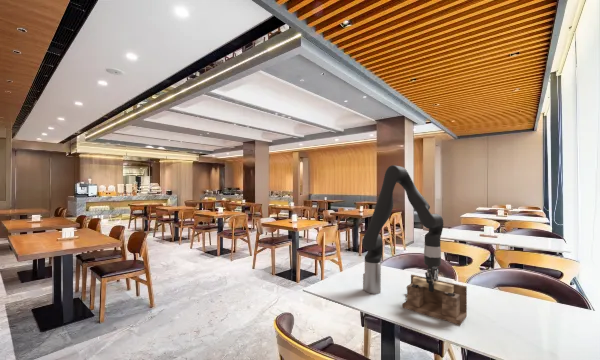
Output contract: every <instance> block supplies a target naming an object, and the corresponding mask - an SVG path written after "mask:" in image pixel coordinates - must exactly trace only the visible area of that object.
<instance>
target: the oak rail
mask: <svg viewBox="0 0 600 360" xmlns="http://www.w3.org/2000/svg"><path fill="white" fill-rule="evenodd" d="M418 285H419V286H424V287H428V288H429V283H427V281H426V279H424V278H419V277H413V287H415V288H417V287H418ZM434 289H436V290H440V291H444V292H448V296H451V297H454V285H451V284H446V283H442V282H437V281H434Z"/></svg>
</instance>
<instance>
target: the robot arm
mask: <svg viewBox="0 0 600 360" xmlns="http://www.w3.org/2000/svg"><path fill="white" fill-rule="evenodd" d="M397 183H398V184H399V185H400V186H401V187H402V188H403V190H404V191H405V194H406V196H407V199H408V202H409V203H410V205H411V207H412V208H413V209H414V211H416V214H417V216H418V219H419V222H420V223H421V225H422V226H423V227H425V228H426V229H428V232H426V233H425V235H424V247H423V248H424V249H423V264H424V265H426V266H427V268H426V271H425V273H424V275H425V277H426V281H427V283H429V291H430V292H434V290H436V289H434V281H437V280H439V272H440V268H439V267H440V266H442V249H441V247H442V246H441V237H442V235H443V229H444V218H443V216H442V215H440V214H439V213H431V212H430V208H431V206H430V204H429V203H428V201H427V200H426V198H425V197H424V196H423V195H422V194H421V192H420V191H419V189H418V188H417V186H416V185H415V183H414V181H413V180H412V177H411V176H410V173H409V172H408V170H407V168H405V167H404V166H399V165H393V164H392V165H389V166H388V167H387V168H386V170H385V172H384V176H383V182H382V186H381V189H380V192H379V195H378V198H377V201H376V203H375V207H374V211H373V212H372V213H373V214H371V215H372V216H371V219H370V221H369V225H368V226H367V229H366V231H365V233H364V234H363V238H362V240H361V241H362V242H361V243H362V247H363V249H365V250H366V251H367V253H366V254H365V255H364V273H363V274H362V276H363V277H362V290H363V291H364V292H366V293H369V294H375V295H377V294H380V293H381V290H382V285H381V284H382V274H381V273H382V262H381V261H382V258H383V249H384V244H383V242H384V241H383V238H382V236H381V235H380V232H381V230H382V228H383V227H384V226H385V224H386V223H387V222H388V220H389V219H390V218H391V215H392V211H393V208H394V196H393V195H394V189H395V186H396V185H397Z"/></svg>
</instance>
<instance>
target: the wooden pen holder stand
mask: <svg viewBox="0 0 600 360" xmlns="http://www.w3.org/2000/svg"><path fill="white" fill-rule="evenodd" d="M413 277H419V278H424V279H426V276H421V275H418V274H417V275H416V274H410V284H408V285H407V286H406V287H407V288H406V297H407V301H403V303H402V308H403V309H407V310H409V311H412V312H416V313H418V314H419V313H420V314H423V315H426V316H430V317H432V318H436V319H440V320H442V321H445V322H449V323H452V324H455V325H459V326H461V325H462V323H463V322H464V320H465V319H466V318H467V315H468V314H467V312H468V308H467V307H468V305H467V303H468V301H467V295H468V294H467V293H468V292H467V291H468V290H467V289H468V287H467V286H466V285H463V284H462V285H461V284H457V283H453V282H449V281H443V280H439V279H438V280H437V282H442V283H446V284H451V285H454V297H451V296H448V292H444V291H440V290H434V292H430V291H429V288H428V287H424V286H419V285H418V287H417V288H415V287H413Z"/></svg>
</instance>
